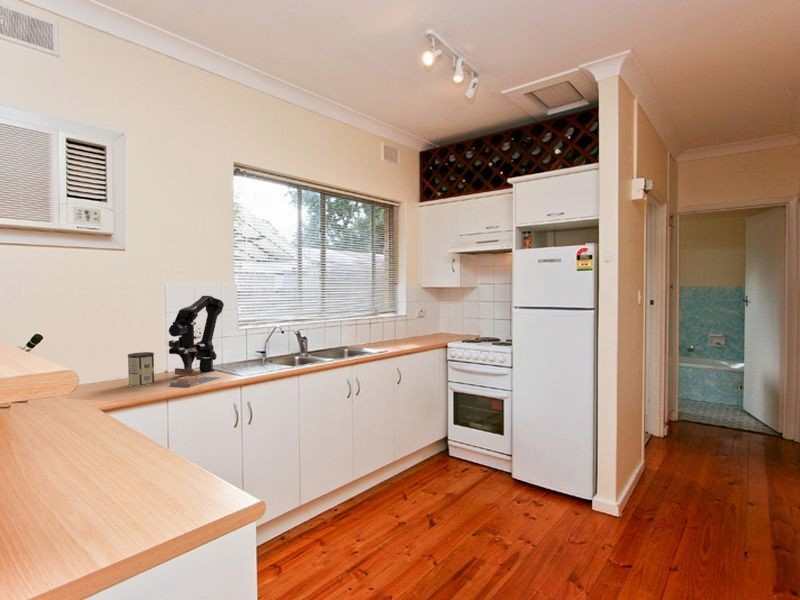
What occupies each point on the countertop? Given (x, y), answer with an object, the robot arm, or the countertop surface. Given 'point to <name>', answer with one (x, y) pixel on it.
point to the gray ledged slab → (200, 381)
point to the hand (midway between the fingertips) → (187, 366)
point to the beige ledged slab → (186, 369)
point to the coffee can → (141, 369)
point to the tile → (188, 379)
